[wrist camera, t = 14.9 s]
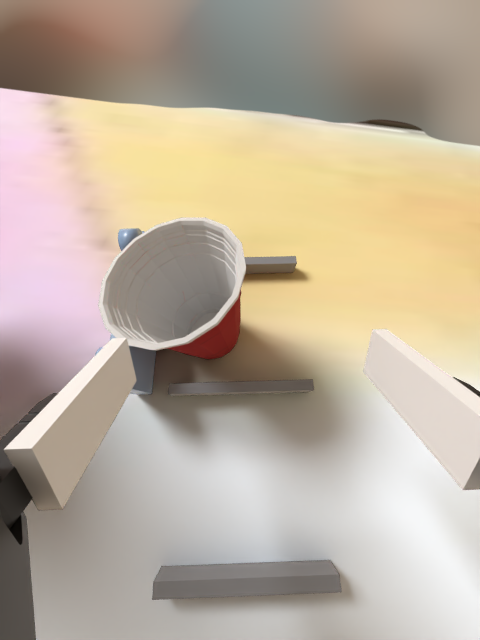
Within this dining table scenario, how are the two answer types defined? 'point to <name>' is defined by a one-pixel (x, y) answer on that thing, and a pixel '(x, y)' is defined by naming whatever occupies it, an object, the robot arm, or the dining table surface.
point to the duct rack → (243, 575)
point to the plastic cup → (177, 289)
